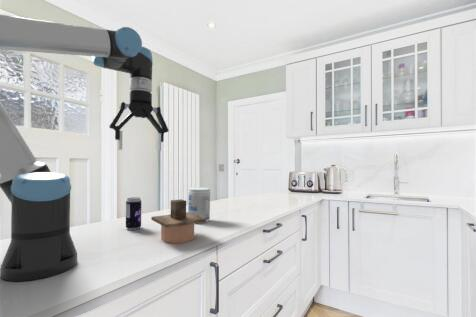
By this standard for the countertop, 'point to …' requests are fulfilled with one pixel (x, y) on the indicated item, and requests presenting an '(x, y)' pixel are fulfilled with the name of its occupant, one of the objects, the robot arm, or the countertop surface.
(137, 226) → the beverage can
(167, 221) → the walnut lid
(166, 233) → the terracotta bowl
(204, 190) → the supplement tub
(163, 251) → the countertop surface
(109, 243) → the countertop surface
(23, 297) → the countertop surface
